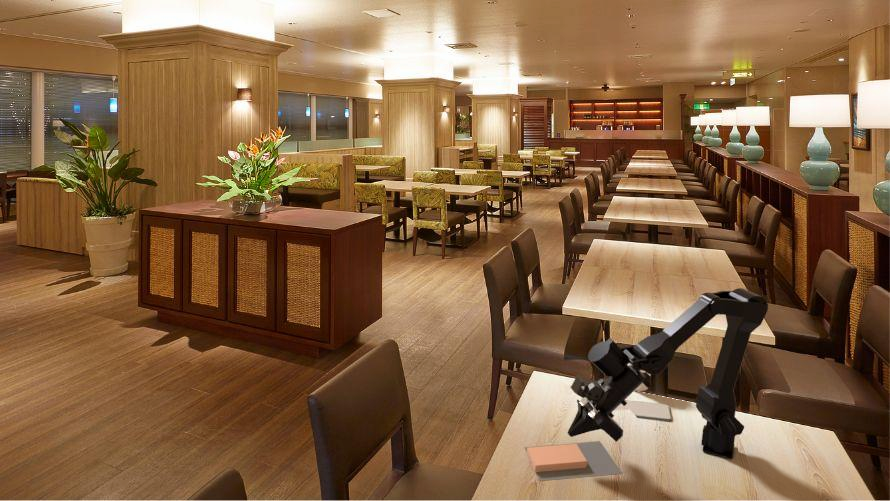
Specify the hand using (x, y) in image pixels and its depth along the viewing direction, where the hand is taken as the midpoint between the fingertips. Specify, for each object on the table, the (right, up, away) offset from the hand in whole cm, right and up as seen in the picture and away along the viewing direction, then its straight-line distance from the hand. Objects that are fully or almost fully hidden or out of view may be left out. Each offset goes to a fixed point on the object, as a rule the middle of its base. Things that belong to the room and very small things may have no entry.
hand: (569, 434), depth 128 cm
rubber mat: (+1, -7, +2) cm, 7 cm away
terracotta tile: (+3, -5, +2) cm, 6 cm away
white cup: (+28, +2, +38) cm, 47 cm away
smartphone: (+25, -2, +24) cm, 35 cm away
